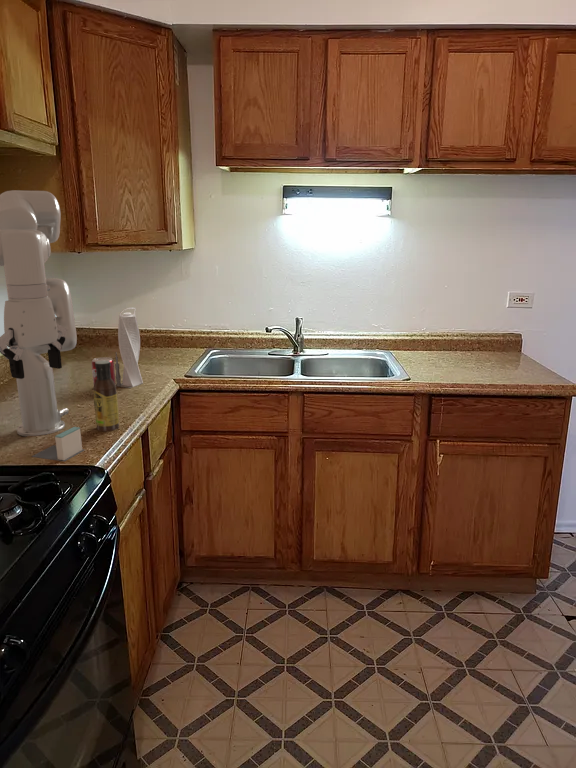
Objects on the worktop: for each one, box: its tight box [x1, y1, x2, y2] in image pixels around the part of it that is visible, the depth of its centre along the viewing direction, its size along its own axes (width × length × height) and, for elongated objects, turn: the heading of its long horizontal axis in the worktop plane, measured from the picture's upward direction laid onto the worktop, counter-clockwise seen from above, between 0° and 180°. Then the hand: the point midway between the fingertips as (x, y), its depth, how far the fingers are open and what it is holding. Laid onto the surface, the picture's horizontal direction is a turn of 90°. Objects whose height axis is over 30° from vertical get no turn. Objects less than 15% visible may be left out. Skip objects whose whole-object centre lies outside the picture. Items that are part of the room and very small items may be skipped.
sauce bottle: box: [92, 360, 120, 432], centre depth 161 cm, size 6×6×20 cm
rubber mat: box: [31, 444, 85, 462], centre depth 146 cm, size 8×10×1 cm
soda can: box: [91, 357, 116, 385], centre depth 198 cm, size 7×7×12 cm
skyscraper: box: [114, 307, 144, 389], centre depth 207 cm, size 8×8×28 cm
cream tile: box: [54, 426, 83, 460], centre depth 144 cm, size 7×2×6 cm, turn 162°
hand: (37, 372), depth 124 cm, fingers open, 9 cm apart
